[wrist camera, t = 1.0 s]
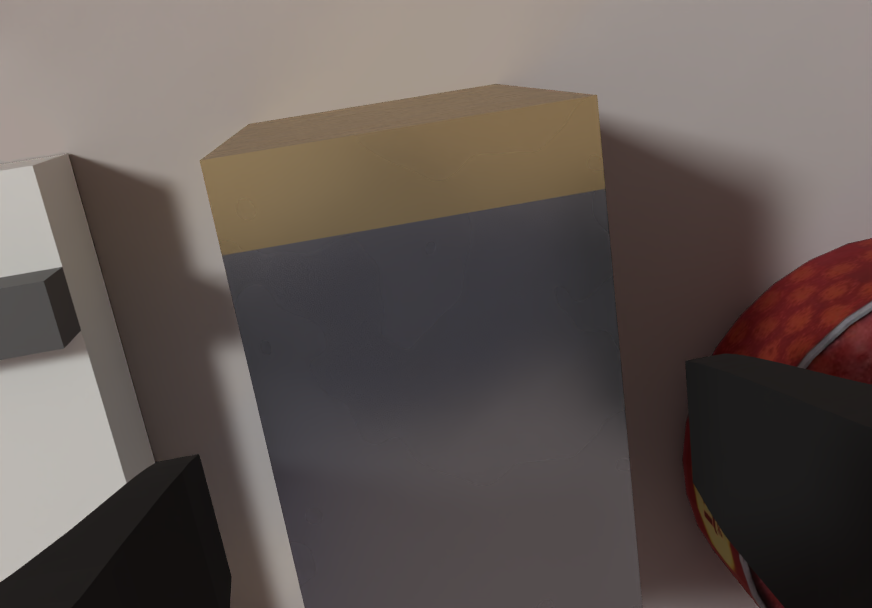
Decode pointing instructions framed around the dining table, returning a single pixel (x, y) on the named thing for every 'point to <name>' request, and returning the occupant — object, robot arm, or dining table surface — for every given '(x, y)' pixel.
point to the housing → (436, 348)
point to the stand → (57, 367)
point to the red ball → (798, 356)
